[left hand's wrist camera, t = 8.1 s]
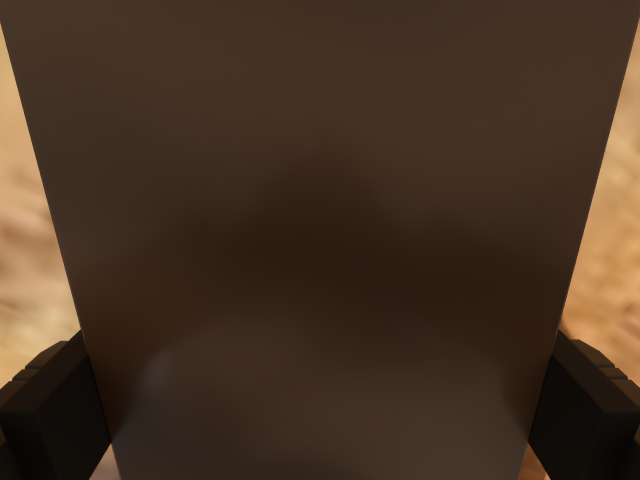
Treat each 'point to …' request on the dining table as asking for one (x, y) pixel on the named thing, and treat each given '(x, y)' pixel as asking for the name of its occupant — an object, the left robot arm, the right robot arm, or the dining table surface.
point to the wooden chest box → (319, 220)
